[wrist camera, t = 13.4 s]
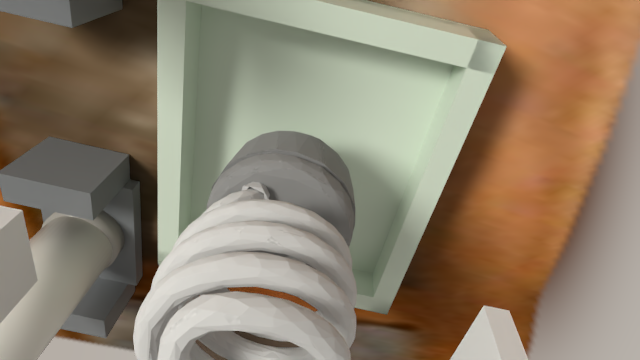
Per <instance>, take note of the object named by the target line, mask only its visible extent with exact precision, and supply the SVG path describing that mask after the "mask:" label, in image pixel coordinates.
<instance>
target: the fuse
mask: <svg viewBox="0 0 640 360" xmlns="http://www.w3.org/2000/svg"><path fill="white" fill-rule="evenodd" d="M29 243H30V247H31V252H32V256H33V261H34V265H35V270H36V274H37V279H38V281H37V282H36V283H35V284H34V286H33V287H32V288H31V289H30V290H29V291H28V292H27V294H26V295H25V296H24V297H23V298H22V299H21V300H20V302H19V303H18V304H17V305H16V306H15V307H14V308H13V310H12V311H11V312H10V313H9V314H8V315H7V316H6V318H5V319H4V320H3V321H2V322H1V323H0V360H37V359H38V357H39V356H40V355H41V354H42V352H43V351H44V350H45V348H46V347H47V346H48V344H49V343H50V341H51V340H52V339H53V337H54V336H55V335H56V333H57V332H58V331H59V329H60V328H61V327H62V325H63V324H64V323H65V321H66V320H67V319H68V317H69V316H70V315H71V313H72V312H73V311H74V309H75V308H76V307H77V305H78V304H79V302H80V301H81V300H82V298H83V297H84V296H85V294H86V293H87V292H88V290H89V289H90V288H91V286H92V285H93V284H94V282H95V281H96V280H97V278H98V277H99V276H100V274H101V273H102V272H103V270H104V269H106V268H107V267H109V266H110V265H111V264H112V263H113V262H114V260H115V259H116V257H117V256H118V255H119V253H120V252H121V251H122V249H123V247H124V244H125V238H124V234H123V231H122V229H121V227H120V226H119V224H118V223H117V222H116V220H115V219H114V218H113V217H111V216H110V215H109V214H108V213H106V212H105V211H103V210H102V211H101V212H100V214H99V215H98V216H97V217H96V218H95V219H94V220H89V219H84V218H79V217H75V216H70V215H66V214H61V213H57V212H54V213H53V214H52V215H51V216H50V217H49V218H48V219H47V220H46V221H45V222H44V223H43V225H42V228H41V230H40V231H39V232H38V233H36V234H35V235H34V236H33V237H32V238H31V239H30V240H29Z"/></svg>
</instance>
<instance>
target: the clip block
mask: <svg viewBox="0 0 640 360" xmlns="http://www.w3.org/2000/svg"><path fill="white" fill-rule="evenodd" d="M121 9H123V6H122V0H0V11H3V12H7V13H11V14H15V15H20V16H24V17H28V18H32V19H37V20H41V21H45V22H50V23H54V24H58V25H62V26H67V27H71V28H73V27H76V26H79V25H81V24H84V23H87V22H89V21H92V20H95V19H97V18H100V17H103V16H105V15H108V14H111V13H113V12H116V11H119V10H121ZM0 188H1V192H2V196H3V200H4V201H7V202H11V203H16V204H20V205H25V206H29V207H34V208H38V209H41V211H42V216H43V222H45V221H46V220H47V219H48V218H49V217H50V216H51V215H52V214H53V213H54V212H57V213H61V214H66V215H70V216H75V217H79V218H84V219H89V220H94V219H95V218H96V217H97V216H98V215H99V214H100V212H101V211H102V210H103V211H105V212H106V213H108V214H109V215H110V216H111V217H113V218H114V219H115V220H116V222H117V223H118V224H119V226H120V227H121V229H122V231H123V234H124V238H125V244H124V247H123V249H122V251H121V252H120V253H119V255H118V256H117V257H116V259H115V260H114V262H113V263H112V264H111V265H110V266H109V267H107V268H106V269H104V270H103V272H102V273H101V274H100V276H99V277H98V278H97V280H96V281H95V282H94V284H93V285H92V286H91V288H90V289H89V290H88V292H87V293H86V294H85V296H84V297H83V298H82V300H81V301H80V302H79V304H78V305H77V307H76V308H75V309H74V311H73V312H72V313H71V315H70V316H69V317H68V319H67V320H66V321H65V323H64V324H63V325H62V327H61V328H60V329H65V330H69V331H74V332H79V333H84V334H88V335H93V336H98V337H103V338H106V337H107V336H108V334H109V333H110V331H111V329H112V328H113V326H114V324H115V323H116V321H117V320H118V318H119V316H120V315H121V313H122V312H123V310H124V308H125V307H126V305H127V303H128V302H129V300H130V299H131V297H132V295H133V294H134V292H135V285H136V286H137V284H138V282H139V281H140V279H141V278H142V276H143V273H142V240H141V206H140V181H135V180H131V179H130V163H129V155H128V154H124V153H119V152H115V151H111V150H106V149H102V148H97V147H93V146H88V145H84V144H80V143H75V142H71V141H66V140H62V139H57V138H53V137H48V138H47V139H45V140H44V141H42V142H41V143H39V144H38V145H36V146H35V147H34V148H32V149H31V150H29V151H28V152H26V153H25V154H23V155H22V156H21V157H19V158H18V159H16V160H15V161H13V162H12V163H10V164H9V165H7V166H6V167H5V168H3V169H2V170H0Z"/></svg>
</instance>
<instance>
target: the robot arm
mask: <svg viewBox="0 0 640 360" xmlns="http://www.w3.org/2000/svg"><path fill="white" fill-rule="evenodd" d="M37 281H38V279H37V274H36V270H35V265H34V261H33V256H32V252H31V247H30V243H29V238H28V234H27V229H26V224H25V220H24V215H23V211H22V210H19V209H14V208H9V207H4V206H0V323H1V322H2V321H3V320H4V319H5V318H6V316H7V315H8V314H9V313H10V312H11V311H12V310H13V308H14V307H15V306H16V305H17V304H18V303H19V302H20V300H21V299H22V298H23V297H24V296H25V295H26V294H27V292H28V291H29V290H30V289H31V288H32V287H33V286H34V284H35V283H36V282H37ZM450 360H528V358H527V355H526V353H525V350H524V347H523V345H522V342H521V340H520V337H519V334H518V332H517V329H516V327H515V324H514V322H513V319H512V316H511V314H510V311H509V310H504V309H499V308H494V307H489V306H483V307H482V309H481V311H480V312H479V314H478V316H477V317H476V319H475V320H474V322H473V324H472V325H471V327H470V328H469V330H468V332H467V333H466V335H465V336H464V338H463V340H462V341H461V343H460V344H459V346H458V348H457V349H456V351H455V352H454V354H453V356H452V357H451V359H450Z"/></svg>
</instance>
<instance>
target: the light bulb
mask: <svg viewBox="0 0 640 360" xmlns="http://www.w3.org/2000/svg"><path fill="white" fill-rule="evenodd" d="M354 227H355V200H354V191H353V186H352V181H351V177H350V173H349V169H348V168H347V166H346V165H345V163H344V162H343V160H342V159H341V157H340V156H339V154H338V153H337V152H336V151H334V150H333V149H332V148H331V147H329V146H328V145H327V144H326V143H324V142H323V141H322V140H321V139H319V138H316V137H314V136H311V135H308V134H304V133H300V132H296V131H274V132H270V133H265V134H261V135H259V136H257V137H255V138H254V139H252V140H250V141H248V142H246V143H245V145H244V146H243V147H242V148H241V149H240V150H239V151H238V153H237V154H236V155H235V156H234V157H233V158H232V160H231V161H230V162H229V163H228V164H227V165H226V167H225V168H224V170H223V171H222V173H221V174H220V176H219V177H218V179H217V180H216V182H215V183H214V184H213V186H212V191H211V194H210V197H209V199H208V202H207V210H206V211H205V212H204V213H203V214H202V215H201V216H200V217H198V218H197V219H196V220H195V221H193V222H192V223H191V224H189V225H188V227H187V228H186V229H185V230H184V231H183V232H182V233H181V235H180V236H179V238H178V239H177V241H176V242H175V244H174V246H173V249H172V251H171V252H170V253H169V254H168V255H167V256H166V258H165V259H164V260H163V262H162V263H161V264H160V265H159V268H158V270H157V272H156V274H155V276H154V278H153V281H152V285H151V290H150V292H149V293H148V294H147V296H146V298H145V300H144V301H143V303H142V305H141V306H140V309H139V311H138V314H137V316H136V320H135V327H134V335H133V341H134V350H135V355H136V358H137V360H215V359H213V358H212V357H211V356H209V355H208V354H207V353H206V352H204V351H203V350H202V349H201V348H200V347H199V346H198V345H197V344H196V343H195V341H196V340H197V339H198V340H199V341H200V342H201V343H203V344H204V345H205V346H207V347H208V348H209V349H211V350H212V351H213V352H215V353H216V354H218V355H220V356H222V357H224V358H226V359H228V360H351V356H350V350H349V348H350V347H351V345H352V343H353V341H354V339H355V333H356V314H355V312H354V307H355V305H356V298H357V287H356V281H355V278H354V275H353V272H352V258H351V254H350V250H349V246H350V242H351V239H352V235H353V230H354ZM226 287H261V288H265V289H270V290H275V291H280V292H285V293H288V294H291V295H294V296H297V297H299V298H301V299H302V300H304V301H306V302H307V303H309V304H310V305H312V306H313V307H315V308H316V309H318V311H316V312H314V311H312V310H310V309H308V308H306V307H303V306H301V305H298V304H296V303H294V302H291V301H289V300H285V299H281V298H276V297H271V296H267V295H262V294H256V293H246V292H237V291H234V292H230V291H229V290H228V289H227V288H226ZM199 295H200V296H199ZM232 331H243V332H247V333H250V334H253V335H255V336H258V337H263V338H267V339H272V340H276V341H289V342H292V343H294V344H296V345H298V346H300V347H298V348H279V347H273V346H267V345H262V344H258V343H256V342H253V341H250V340H247V339H245V338H243V337H241V336H239V335H237V334H236V333H234V332H232Z"/></svg>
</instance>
